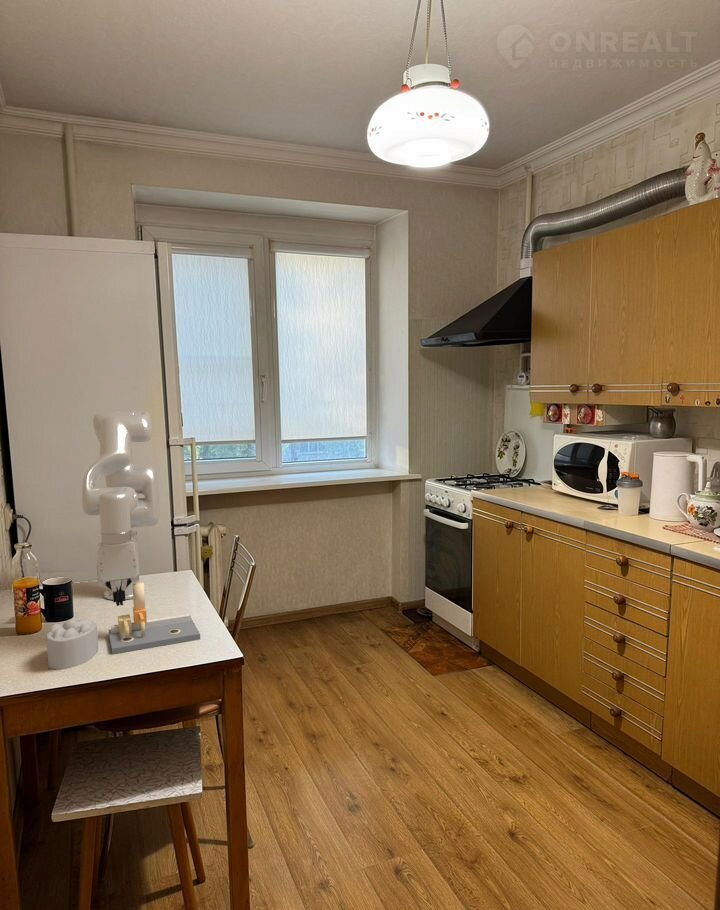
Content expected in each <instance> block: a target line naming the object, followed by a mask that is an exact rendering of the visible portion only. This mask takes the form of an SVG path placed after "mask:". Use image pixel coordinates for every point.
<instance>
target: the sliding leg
mask: <svg viewBox="0 0 720 910" xmlns="http://www.w3.org/2000/svg"><path fill="white" fill-rule="evenodd" d="M144 588H145V582H143V581H142V582H141V581H140V582H137V583H134V584H133V598H132V600H133V607H132V613H133V617H132V618H133V622H134V623H135V625H138V624H141V636H145V623H147V620H148V618H147V609H146V596H145V594H146V589H145V590H144Z"/></svg>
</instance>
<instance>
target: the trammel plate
mask: <svg viewBox="0 0 720 910" xmlns="http://www.w3.org/2000/svg"><path fill="white" fill-rule="evenodd" d="M108 637H109V643H110V649H111V653H112V655H116V654H122V653H123V654H124V653H128V652H135V651H140V650H145V649H151V648H156V647H157V648H159V647H163V646H169V645H174V644H180V643H185V642H191V641H197V640H201V633H200V631H199V629H198V627H197V626H196V623H195V622H194V620H193V619H192V617H191V614H190V613H187V614H180V615H179V614H178V615H173V616H172V615H171V616H165V617H160V618H159V617H158V618H154V619H153V618H152V619H147V623H145V636H141V624H138V625H135V623H134V621H133V622H132V619H131V616H130V614H129V613H128V614H123V615H117V624H116V625H110V629H108Z"/></svg>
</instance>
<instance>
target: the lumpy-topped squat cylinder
mask: <svg viewBox="0 0 720 910" xmlns="http://www.w3.org/2000/svg"><path fill="white" fill-rule="evenodd" d="M46 650H47V651H46V654H47V665H48V667H49V668H51V669H53V670H58V671H60V670H67V669H72V668H74V667H75V668H76V667H78V666H81V665H83V664H85V663H87V662H89V661H90V660H92V659H93V658H94V657H95V656H96V655H97V654H98V652H99V635H98V624H97V622H95V621H91V620H89V619H68V620H66V621H65V622H62V623H60V624H59V623H55V624H52V625H51V627H50V628H49V631H48V632H47V633H46Z"/></svg>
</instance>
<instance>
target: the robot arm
mask: <svg viewBox="0 0 720 910" xmlns="http://www.w3.org/2000/svg"><path fill="white" fill-rule="evenodd" d="M92 425H93V429H94V432H95V435H96V437H97V439H98V441H99V458H98V459H97V460H96V461H94V462H93V463H92V464H91V465H90V467H89V468H88V469H87V471H86V472H85V474H84V477H83V480H82V485H81V486H82V487H81V506H82V510H83V512H84V513H85V514H87V515H88V516H99V521H100V522H99V523H100V524H99V525H100V542H99V543H98V545H97V550H96V571H97V580H96V585H97V586H98V587H107V588H108V589H107V590H105V591H104V592H103V597H104V598H105V599H106V600H107V599H108V600H112V601H113V603H115V604H116V607H118V606H124V602H126V600H131V599H132V600H133V584H134V583H137V582H141V580H140V564H139V562H140V561H139V560H140V559H139V542H138V539H137V537H138V535H137V531H134V530H133V531H132V528H143V527H144V528H145V527H146V528H147V527H153V526H156V525H157V524H158V523H159V522H160V500H159V482H158V481H159V480H158V479H159V478H158V474H157V470H156V468H155V467H154V466H153V465H151V464H134V463H133V450H132V449H133V448H131V443H146V442H149V441H150V440H151V438H152V435H153V421H152V418H151V414H150V413H149V412H148V411H145V410H127V411H126V410H124V411H123V410H118V411H116V410H113V411H102V412H98V413H96V414H95V415H94V416H93V419H92ZM103 478H105V487H94V486H95V484H97V483H98V482H99V481H100V480H102V479H103ZM139 495H143V496H144V497H139ZM144 590H145V591H146V588H145V587H144Z"/></svg>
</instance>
